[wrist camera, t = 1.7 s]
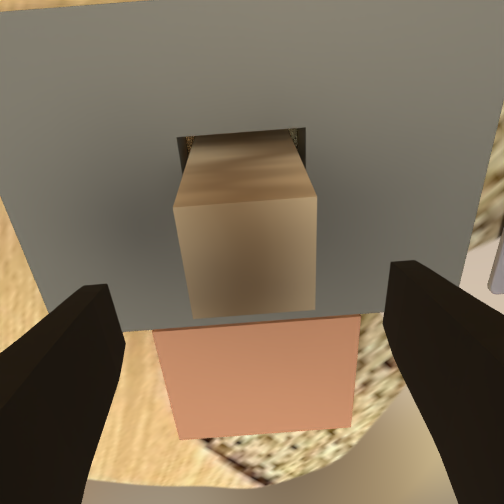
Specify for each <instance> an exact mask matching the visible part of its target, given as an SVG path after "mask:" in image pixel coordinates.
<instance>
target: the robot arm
mask: <svg viewBox="0 0 504 504" xmlns="http://www.w3.org/2000/svg"><path fill="white" fill-rule="evenodd" d="M488 289H489V290H490V291H491V292H492V293H493V294H504V228H503V232H502V235H501V239H500V242H499V246H498V250H497V253H496V257H495V260H494V264H493V267H492V271H491V274H490V278H489V281H488ZM383 326H384V330H385V333H386V336H387V339H388V342H389V345H390V348H391V351H392V354H393V357H394V359H395V361H396V364H397V366H398V368H399V370H400V372H401V374H402V376H403V378H404V380H405V382H406V384H407V387H408V389H409V390H410V393H411V394H412V397H413V399H414V401H415V403H416V405H417V407H418V409H419V411H420V413H421V415H422V417H423V419H424V421H425V423H426V425H427V427H428V429H429V431H430V433H431V435H432V437H433V440H434V442H435V444H436V446H437V449H438V451H439V453H440V456H441V458H442V461H443V463H444V466H445V469H446V471H447V474H448V477H449V480H450V482H451V485H452V488H453V490H454V493H455V496H456V498H457V501H458V504H504V315H503V314H502V313H500V312H498V311H497V310H495V309H493V308H491V307H490V306H488V305H486V304H485V303H483V302H481V301H480V300H478V299H477V298H475V297H473V296H472V295H470V294H469V293H467V292H465V291H464V290H462V289H461V288H459V287H458V286H456V285H455V284H453V283H451V282H450V281H448V280H447V279H445V278H444V277H442V276H441V275H439V274H437V273H436V272H434V271H433V270H431V269H430V268H428V267H426V266H425V265H423V264H421V263H419V262H418V261H416V260H407V261H394V262H391V263H390V271H389V279H388V286H387V294H386V302H385V310H384V317H383ZM125 345H126V343H125V340H124V336H123V333H122V330H121V326H120V323H119V320H118V317H117V313H116V310H115V307H114V303H113V300H112V297H111V294H110V290H109V287H108V284H95V285H83V286H82V287H81V288H79V289H78V290H77V291H75V292H74V293H73V294H72V295H70V296H69V297H68V298H67V299H66V300H64V301H63V302H62V303H61V304H60V305H59V306H57V307H56V308H55V309H54V310H53V311H51V312H50V313H49V314H48V315H47V316H46V317H44V318H43V319H42V320H41V321H40V322H38V323H37V324H36V325H35V326H34V327H33V328H31V329H30V330H29V331H28V332H27V333H25V334H24V335H23V336H22V337H21V338H19V339H18V340H17V341H15V342H14V343H13V344H12V345H10V346H9V347H8V348H6V349H5V350H4V351H3V352H1V353H0V504H81V502H82V498H83V494H84V489H85V485H86V481H87V478H88V474H89V471H90V467H91V464H92V461H93V458H94V455H95V452H96V449H97V446H98V443H99V440H100V437H101V434H102V431H103V428H104V425H105V422H106V419H107V416H108V413H109V410H110V407H111V403H112V400H113V397H114V394H115V391H116V388H117V385H118V381H119V378H120V373H121V368H122V363H123V357H124V351H125Z"/></svg>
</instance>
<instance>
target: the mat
mask: <svg viewBox="0 0 504 504" xmlns="http://www.w3.org/2000/svg"><path fill="white" fill-rule="evenodd" d="M360 322H361V315H360V314H353V315H340V316H326V317H313V318H300V319H287V320H273V321H260V322H247V323H234V324H220V325H207V326H194V327H181V328H167V329H154V330H153V331H152V333H153V337H154V341H155V345H156V349H157V353H158V357H159V361H160V365H161V368H162V372H163V376H164V380H165V384H166V388H167V392H168V396H169V400H170V404H171V408H172V412H173V416H174V420H175V424H176V427H177V431H178V435H179V439H180V440H187V439H200V438H213V437H227V436H240V435H253V434H267V433H280V432H294V431H307V430H320V429H334V428H347V427H351V420H352V409H353V398H354V387H355V376H356V365H357V354H358V343H359V333H360Z"/></svg>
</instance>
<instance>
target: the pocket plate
mask: <svg viewBox="0 0 504 504" xmlns="http://www.w3.org/2000/svg"><path fill="white" fill-rule="evenodd" d="M503 101H504V0H149V1H136V2H123V3H110V4H97V5H84V6H71V7H58V8H45V9H32V10H19V11H6V12H0V196H1V199H2V201H3V204H4V206H5V209H6V211H7V213H8V216H9V218H10V221H11V223H12V225H13V228H14V230H15V233H16V235H17V238H18V240H19V242H20V245H21V247H22V250H23V252H24V254H25V257H26V259H27V262H28V264H29V267H30V269H31V271H32V274H33V276H34V279H35V281H36V283H37V286H38V288H39V291H40V293H41V296H42V298H43V300H44V303H45V305H46V308H47V310H48V312H49V313H50V312H51V311H53V310H54V309H55V308H56V307H57V306H59V305H60V304H61V303H62V302H63V301H64V300H66V299H67V298H68V297H69V296H70V295H72V294H73V293H74V292H75V291H77V290H78V289H79V288H81V287H82V286H83V285H95V284H108V287H109V290H110V294H111V297H112V300H113V303H114V307H115V310H116V313H117V317H118V320H119V323H120V326H121V330H122V332H128V331H141V330H154V329H167V328H181V327H194V326H207V325H220V324H234V323H247V322H260V321H273V320H287V319H300V318H313V317H326V316H340V315H353V314H366V313H379V312H384V310H385V302H386V294H387V286H388V279H389V271H390V263H391V262H394V261H407V260H416V261H418V262H419V263H421V264H423V265H425V266H426V267H428V268H430V269H431V270H433V271H434V272H436V273H437V274H439V275H441V276H442V277H444V278H445V279H447V280H448V281H450V282H451V283H453V284H455V285H456V286H458V287H459V284H460V280H461V276H462V271H463V268H464V264H465V259H466V255H467V251H468V247H469V243H470V239H471V234H472V230H473V226H474V222H475V218H476V214H477V209H478V205H479V201H480V197H481V193H482V189H483V184H484V180H485V176H486V172H487V168H488V164H489V159H490V155H491V151H492V147H493V143H494V139H495V134H496V130H497V126H498V122H499V118H500V114H501V109H502V105H503ZM290 128H297V132H298V154H299V156H300V158H301V161H302V163H303V165H304V167H305V170H306V172H307V174H308V177H309V179H310V181H311V184H312V186H313V188H314V190H315V193H316V195H317V236H316V294H315V310H308V311H294V312H281V313H268V314H254V315H241V316H228V317H214V318H201V319H193V316H192V310H191V305H190V299H189V294H188V288H187V283H186V277H185V272H184V266H183V261H182V256H181V250H180V245H179V239H178V234H177V228H176V223H175V217H174V212H173V205H174V202H175V199H176V196H177V192H178V189H179V186H180V183H181V179H182V176H183V173H184V170H185V167H186V163H187V160H188V150H187V143H186V136H199V135H212V134H225V133H238V132H251V131H264V130H277V129H290Z"/></svg>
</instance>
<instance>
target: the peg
mask: <svg viewBox="0 0 504 504" xmlns="http://www.w3.org/2000/svg"><path fill="white" fill-rule="evenodd" d="M173 212H174V217H175V223H176V228H177V234H178V239H179V245H180V250H181V256H182V261H183V266H184V272H185V277H186V283H187V288H188V294H189V299H190V305H191V310H192V316H193V319H201V318H214V317H228V316H241V315H254V314H268V313H281V312H294V311H308V310H315V294H316V236H317V195H316V193H315V190H314V188H313V186H312V184H311V181H310V179H309V177H308V174H307V172H306V170H305V167H304V165H303V163H302V161H301V158H300V156H299V154H298V151H297V149H296V147H295V145H294V142H293V140H292V138H291V135H290V133H289V131H288V129H277V130H264V131H251V132H238V133H225V134H212V135H199V136H195V138H194V141H193V144H192V147H191V151H190V154H189V157H188V160H187V163H186V167H185V170H184V173H183V176H182V179H181V183H180V186H179V189H178V192H177V196H176V199H175V202H174V205H173Z"/></svg>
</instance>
